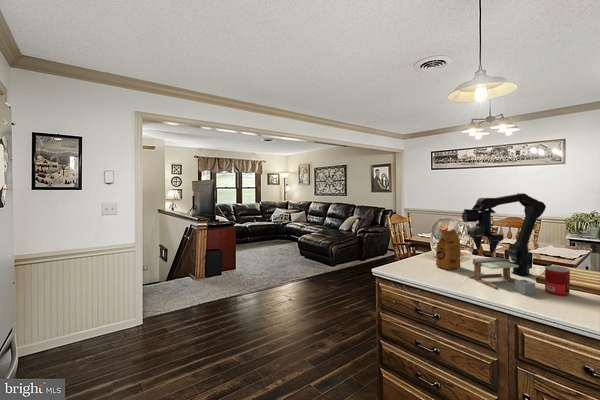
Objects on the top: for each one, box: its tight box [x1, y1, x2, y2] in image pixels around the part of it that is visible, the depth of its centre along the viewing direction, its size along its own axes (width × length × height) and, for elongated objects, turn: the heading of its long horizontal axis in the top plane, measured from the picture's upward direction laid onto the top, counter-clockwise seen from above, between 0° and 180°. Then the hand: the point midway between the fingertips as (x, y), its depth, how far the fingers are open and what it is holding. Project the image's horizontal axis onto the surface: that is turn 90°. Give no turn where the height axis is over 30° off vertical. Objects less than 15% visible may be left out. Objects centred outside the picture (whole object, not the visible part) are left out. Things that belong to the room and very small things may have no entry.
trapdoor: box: [472, 256, 519, 270], centre depth 143 cm, size 12×14×3 cm
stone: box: [514, 279, 536, 296], centre depth 126 cm, size 5×5×5 cm
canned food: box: [544, 265, 571, 297], centre depth 125 cm, size 8×8×11 cm
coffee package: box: [435, 228, 461, 271], centre depth 169 cm, size 10×12×22 cm
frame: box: [469, 258, 518, 290], centre depth 141 cm, size 17×18×10 cm
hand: (484, 251), depth 153 cm, fingers open, 9 cm apart
